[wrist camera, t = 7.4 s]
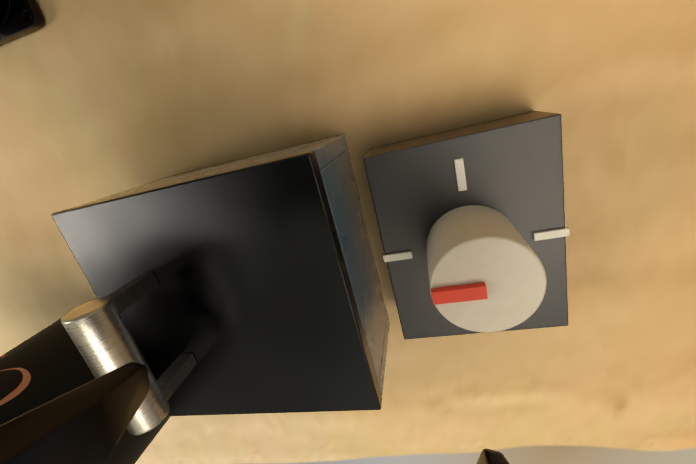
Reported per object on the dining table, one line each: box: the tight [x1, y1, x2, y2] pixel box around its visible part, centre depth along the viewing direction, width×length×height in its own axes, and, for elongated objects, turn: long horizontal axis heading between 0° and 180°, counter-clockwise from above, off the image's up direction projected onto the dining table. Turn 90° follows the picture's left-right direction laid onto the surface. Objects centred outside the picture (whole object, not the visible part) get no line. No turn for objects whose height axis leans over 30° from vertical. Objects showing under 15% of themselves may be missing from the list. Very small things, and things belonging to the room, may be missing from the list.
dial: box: [426, 205, 547, 333], centre depth 14 cm, size 4×4×4 cm
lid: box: [52, 151, 382, 435], centre depth 14 cm, size 12×12×4 cm
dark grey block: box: [81, 134, 389, 396], centre depth 18 cm, size 12×12×6 cm
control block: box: [364, 111, 570, 339], centre depth 17 cm, size 10×8×3 cm
